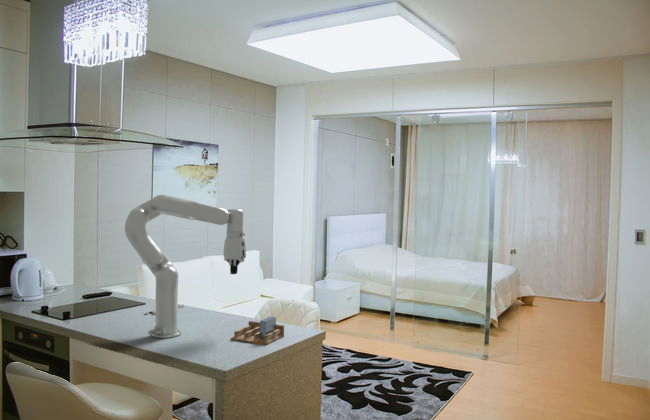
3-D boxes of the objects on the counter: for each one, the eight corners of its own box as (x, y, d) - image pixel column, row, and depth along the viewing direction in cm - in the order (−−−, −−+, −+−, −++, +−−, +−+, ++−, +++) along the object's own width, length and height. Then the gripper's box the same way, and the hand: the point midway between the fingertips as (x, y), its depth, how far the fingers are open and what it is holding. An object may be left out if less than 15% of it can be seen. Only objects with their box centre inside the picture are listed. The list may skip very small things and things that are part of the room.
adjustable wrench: (181, 307, 293) (181, 304, 293) (189, 308, 289) (189, 305, 289) (144, 314, 272) (144, 311, 272) (151, 316, 268) (151, 313, 268)
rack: (266, 345, 217) (266, 333, 217) (230, 340, 224) (230, 328, 224) (284, 336, 232) (284, 325, 232) (249, 331, 239) (249, 320, 239)
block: (265, 339, 222) (266, 321, 222) (259, 339, 223) (260, 320, 223) (275, 334, 230) (276, 317, 230) (270, 334, 231) (270, 316, 231)
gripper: (252, 235, 242) (251, 274, 243) (226, 234, 249) (225, 271, 249) (243, 236, 235) (242, 276, 236) (216, 234, 242) (216, 273, 242)
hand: (233, 273), depth 242 cm, fingers closed
